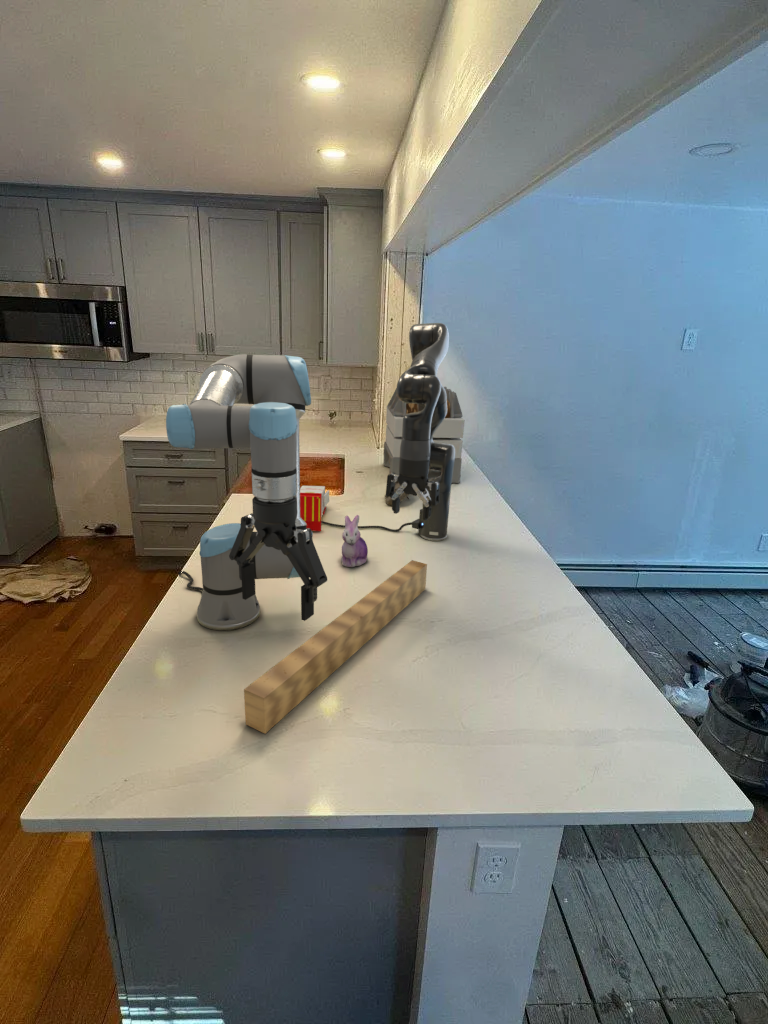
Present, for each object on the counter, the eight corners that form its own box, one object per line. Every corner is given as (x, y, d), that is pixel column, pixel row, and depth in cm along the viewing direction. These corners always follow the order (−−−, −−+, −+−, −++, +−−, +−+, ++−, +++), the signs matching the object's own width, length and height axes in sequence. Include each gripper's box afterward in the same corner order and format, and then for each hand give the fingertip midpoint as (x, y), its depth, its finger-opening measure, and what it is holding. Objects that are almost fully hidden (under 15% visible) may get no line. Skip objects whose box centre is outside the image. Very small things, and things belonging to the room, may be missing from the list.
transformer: (382, 463, 289) (386, 382, 275) (445, 464, 293) (451, 384, 279) (390, 482, 257) (394, 392, 243) (460, 483, 261) (468, 394, 247)
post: (410, 585, 163) (412, 560, 161) (425, 589, 161) (427, 564, 158) (245, 724, 106) (243, 689, 104) (265, 734, 104) (263, 698, 102)
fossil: (383, 480, 246) (411, 461, 241) (396, 497, 249) (424, 478, 244) (377, 501, 226) (408, 481, 221) (392, 519, 229) (422, 500, 224)
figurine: (346, 570, 170) (347, 523, 165) (333, 557, 178) (334, 512, 173) (374, 565, 174) (376, 519, 169) (360, 552, 183) (362, 509, 178)
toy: (330, 481, 223) (325, 494, 194) (330, 514, 226) (324, 532, 196) (299, 480, 222) (289, 493, 193) (299, 513, 225) (289, 531, 196)
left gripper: (204, 487, 99) (212, 596, 106) (322, 517, 88) (321, 636, 95) (235, 478, 105) (240, 581, 112) (348, 504, 94) (346, 617, 101)
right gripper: (382, 454, 142) (380, 514, 148) (434, 463, 136) (429, 526, 141) (396, 448, 148) (393, 506, 154) (446, 457, 142) (441, 517, 147)
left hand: (277, 606), depth 103 cm, fingers open, 13 cm apart
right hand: (410, 516), depth 148 cm, fingers open, 8 cm apart
